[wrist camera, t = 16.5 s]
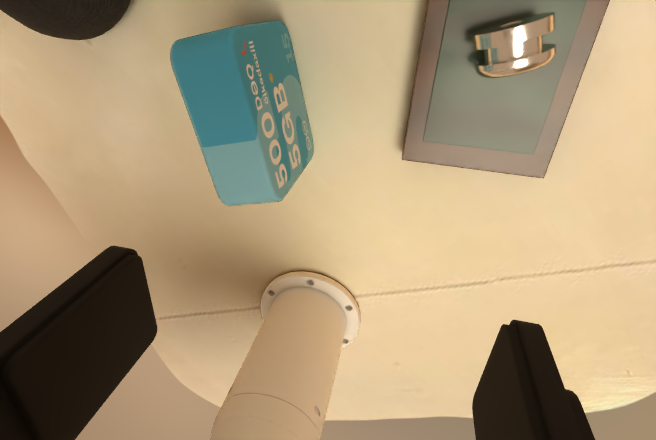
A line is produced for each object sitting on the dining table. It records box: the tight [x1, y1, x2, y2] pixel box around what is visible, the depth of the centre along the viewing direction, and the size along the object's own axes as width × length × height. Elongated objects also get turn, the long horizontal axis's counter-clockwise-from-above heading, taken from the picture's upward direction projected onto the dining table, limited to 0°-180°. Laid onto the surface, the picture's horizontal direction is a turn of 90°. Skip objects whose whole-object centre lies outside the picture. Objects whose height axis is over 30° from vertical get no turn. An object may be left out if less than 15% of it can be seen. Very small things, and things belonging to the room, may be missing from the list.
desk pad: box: [402, 0, 610, 178], centre depth 29 cm, size 20×12×2 cm, turn 176°
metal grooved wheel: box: [471, 12, 556, 78], centre depth 26 cm, size 5×3×5 cm, turn 106°
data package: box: [170, 20, 313, 206], centre depth 31 cm, size 12×4×12 cm, turn 11°
